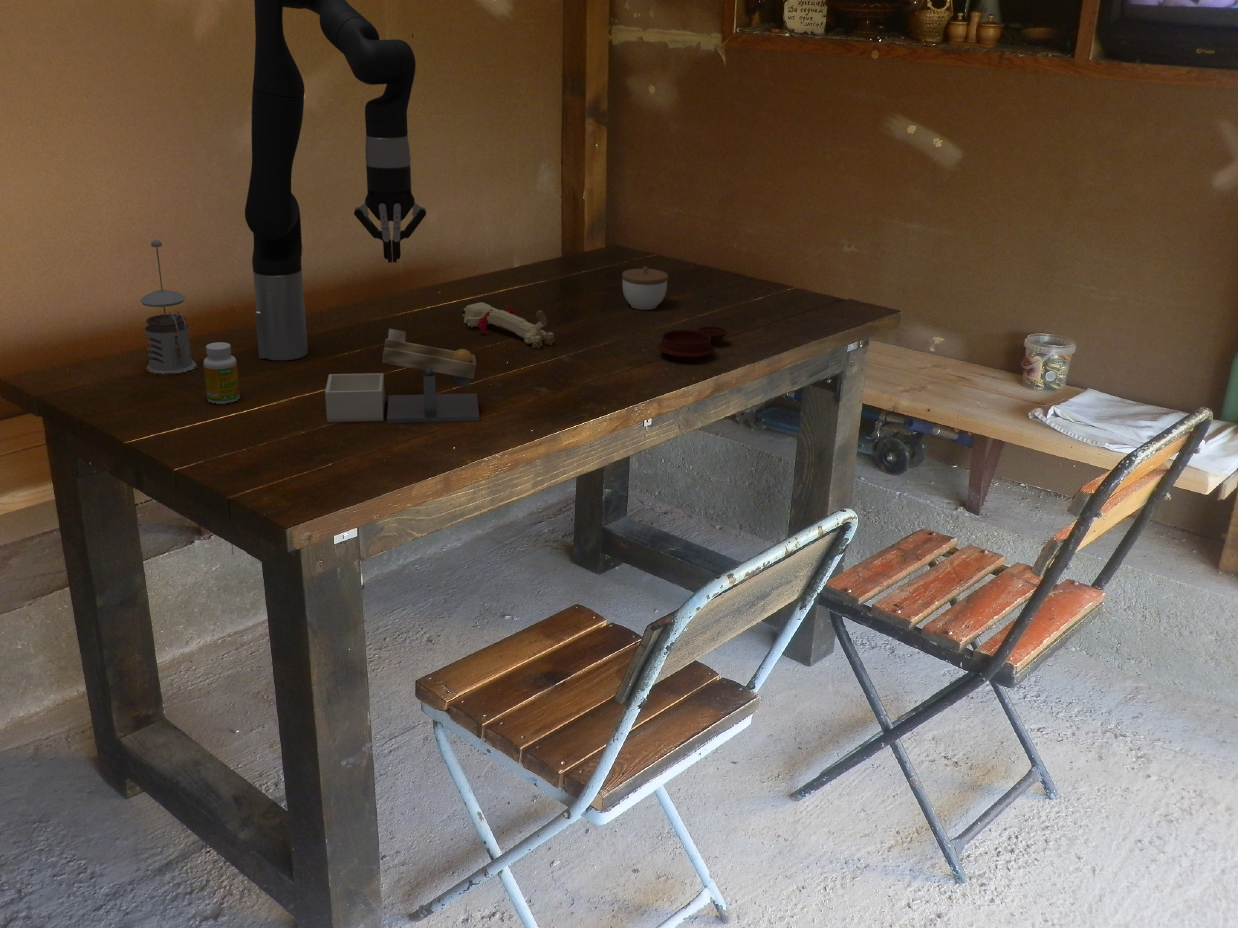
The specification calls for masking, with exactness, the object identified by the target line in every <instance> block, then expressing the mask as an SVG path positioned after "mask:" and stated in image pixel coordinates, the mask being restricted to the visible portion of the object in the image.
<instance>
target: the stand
mask: <svg viewBox="0 0 1238 928" xmlns="http://www.w3.org/2000/svg"><path fill="white" fill-rule="evenodd" d="M422 376H423V377H422V378H423V394H396V395H395V394H393V395H391V394H389V395H388V398H387V399H388V401H387V412H386V413H387V414H386V423H387V424H405V423H407V424H408V423H410V424H411V423H412V424H413V423H444V422H445V423H446V422H447V423H449V422H452V423H453V422H480V411H479V401H478V394H477V393H476V392H475V393H439V394H438V393H437V391H436V390H437V389H436V372H431V374H430V375H428V374H426V370H423V375H422Z"/></svg>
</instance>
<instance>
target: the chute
mask: <svg viewBox="0 0 1238 928" xmlns="http://www.w3.org/2000/svg"><path fill="white" fill-rule="evenodd" d="M406 334H407V333H406V331H404V330H400V329H394V328H388V335H387V338H385V341H384V347H383V351H382V364H383V363H384V364H386V365H387V364H389V365H394V366H400V367H405V368H411V369H416V370H421V371H424V370H426V374H428V375H430V374H431V372H435V373H439V374H444V375H449V376H451V385H452V386H455V387H456V386H457V387H462V388H470V383H471V379H472V380H473V379H474V377H475V373H476V368H477V359H476V355H475V354H473V353H471V355H472V363H468V362H462V361H457V360H452V357H453V354H454V353H455V352H456V351H457V350H450V349H445V348H440V347H433V346H429V345H424V344H423V345H422V344H418V343H413V342H406Z"/></svg>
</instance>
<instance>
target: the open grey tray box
mask: <svg viewBox="0 0 1238 928" xmlns="http://www.w3.org/2000/svg"><path fill="white" fill-rule="evenodd" d="M384 374H385V373H384V372H381V373H371V372H370V373H338V374H337V373H335V374H334V373H333V374H332V373H329V374H328V377H327V383H326V387H325V391H324V396H325V410H326V411H325V413H326V423H350V422H353V423H354V422H383V421H384V417H385V415H384V414H385V405H386V404H385V403H386V395H385V380H384V377H385V376H384Z"/></svg>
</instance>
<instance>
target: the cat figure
mask: <svg viewBox="0 0 1238 928" xmlns="http://www.w3.org/2000/svg"><path fill="white" fill-rule="evenodd" d="M504 307H505V308H507V310H506V311H505V310H503V309H497V308H495V307H493V306H492V305H490V304H487V303H485V302H481V301H480V302H476V303H472V304H468V305H466V307H464V308H463V309H462V317H464V319H463V323H464V324H466V325H467V326H468V327H470V328H474V327H476V328H479V330H480V331H481V332H482V333H483V334H485V335H490V333H488V330H487V327H488V326H487V325H491V324H492V325H493V326H496V327H498V328H499V327H502V328H504V329H505V330H507V331H510V332H513V333H514V334H516V335H517V336H518V337H521V338H523V341H524V342H525V343H526V344H529V345H530V344H531V347H532V348H534V349H536V350H538V349H541V347H543V345H544V344H545V345H547V346H553V344H554V343H555V342H556V338H555V337H554V333H553V332H550V331H549V332H546V331H545V330H542V329H541V328H544V327H545V326H547V325H548V319H547V316H546V314H545V312H544V311H543V310H541V309H540V310H537V311H536V313H535V315H536V318H537V319H538V322H537V323H535V324H533V323H530V322H528V321H527V320H526V319H524V318H523V317H520V316H517V315H515V310H514V309H512V307H511V306H508V305H504ZM543 341H544V342H543ZM543 343H544V344H543Z"/></svg>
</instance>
